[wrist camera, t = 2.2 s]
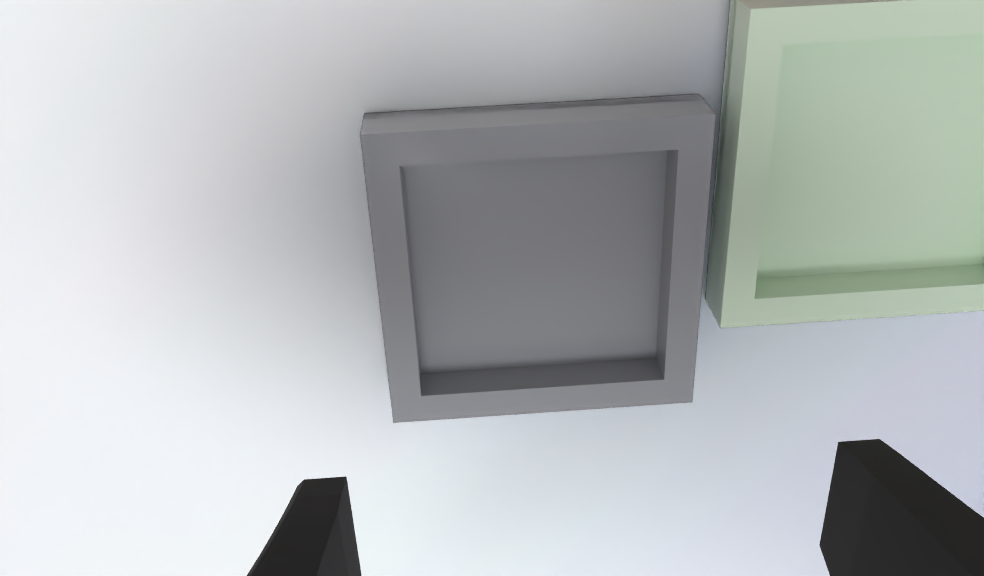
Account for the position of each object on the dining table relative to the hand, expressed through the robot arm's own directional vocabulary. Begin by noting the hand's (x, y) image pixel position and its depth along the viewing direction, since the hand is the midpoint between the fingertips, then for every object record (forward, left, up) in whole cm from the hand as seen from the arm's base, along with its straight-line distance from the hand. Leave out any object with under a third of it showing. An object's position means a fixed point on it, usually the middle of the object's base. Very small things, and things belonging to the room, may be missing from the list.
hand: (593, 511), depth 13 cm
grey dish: (0, 0, -8) cm, 8 cm away
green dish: (-8, -2, -8) cm, 11 cm away
